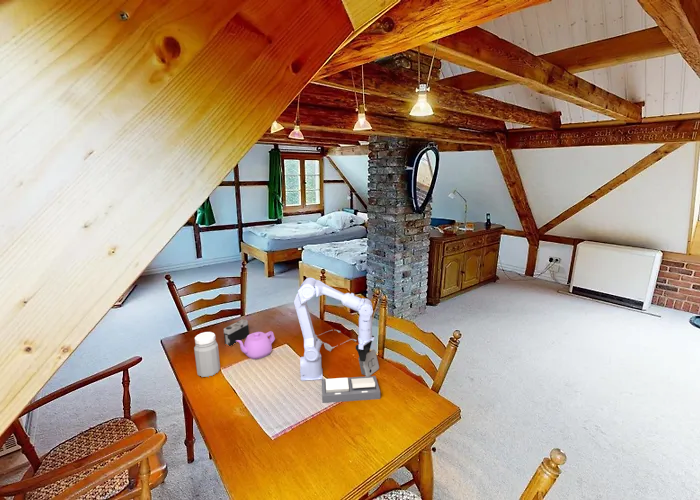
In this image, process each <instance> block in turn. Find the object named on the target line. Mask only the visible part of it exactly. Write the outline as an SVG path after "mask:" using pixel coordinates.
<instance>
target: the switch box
mask: <svg viewBox="0 0 700 500" xmlns="http://www.w3.org/2000/svg"><path fill="white" fill-rule="evenodd" d="M347 378H348V385H349V391H347V392H332V393H326V379H327V378H323V379H321V398H322V401H321V402H322V404H323V403H324V404H325V403H326V404H328V403H329V404H330V403H340V402H341V403H342V402H354V401H355V402H356V401H368V400H369V401H370V400H381V389H380V386H379V383H378V380H377V376H376V375H371V376H366V375H365V376H353V377H347ZM358 378H373V379H374V382H375V387H365V388H353V387H352V383H351V379H358Z"/></svg>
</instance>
